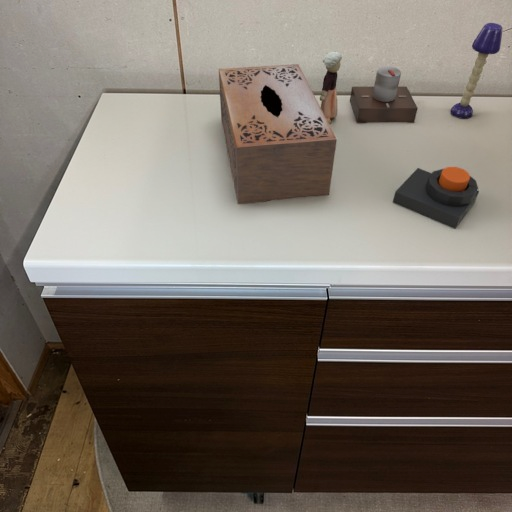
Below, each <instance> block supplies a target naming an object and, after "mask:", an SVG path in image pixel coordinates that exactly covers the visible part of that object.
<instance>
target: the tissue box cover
mask: <svg viewBox="0 0 512 512" xmlns="http://www.w3.org/2000/svg"><path fill="white" fill-rule="evenodd" d="M218 84H219V85H218V86H219V103H220V119H221V120H220V121H221V125H222V130H223V137H224V140H225V141H224V142H225V145H226V151H227V156H228V162H229V164H230V165H229V166H230V171H231V176H232V181H233V186H234V189H235V190H234V191H235V196H236V201H237V204H238V205H240V204H250V203H260V202H261V203H263V202H271V201H280V200H289V199H290V200H291V199H300V198H311V197H321V196H330V191H331V184H332V176H333V170H334V169H333V168H334V163H335V155H336V148H337V141H338V139H337V137H336V135H335V133H334V131H333V129H332V127H331V124H330V125H329V123H328V121H327V119H326V117H325V115H324V113H323V111H322V110H321V105H320V104H319V102H318V100H317V97H316V95H315V94H314V92H313V90H312V88H311V86H310V84H309V82H308V80H307V78H306V77H305V75H304V72H303V71H302V68H301V66H300V64H298V63H295V64H280V65H277V64H276V65H263V66H262V65H261V66H245V67H232V68H231V67H230V68H218Z"/></svg>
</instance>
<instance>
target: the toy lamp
mask: <svg viewBox="0 0 512 512" xmlns="http://www.w3.org/2000/svg"><path fill="white" fill-rule="evenodd" d="M502 36H503V26H502V25H501V24H499V23H496V22H487V23H485V24H484V25H483V27H482V28H481V30H480V31H479V33H478V34H477V36H476V37H475V39H474V41H473V42H472V44H471V48H472V50H473V51H474V52H477V57H476V59H475V62H474V66H473V67H472V69H471V74H470V75H469V77H468V82H467V83H466V85H465V89H464V90H463V93H462V97H461V98H460V102H457V103H455V104H453V106H451V108H450V110H449V111H450V114H451V115H452V116H453V117H456V118H458V119H465V120H466V119H470V118H472V117H473V115H474V109H473V107H472V105H470V103H471V98H472V97H473V95H474V91H475V90H476V89H477V83H479V81H480V78H481V74H482V72H483V69H484V66H485V65H486V62H487V58H488V57H489V55H496V54H497V53H499V52H500V49H501V45H502Z"/></svg>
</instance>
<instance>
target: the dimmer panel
mask: <svg viewBox="0 0 512 512" xmlns="http://www.w3.org/2000/svg"><path fill="white" fill-rule="evenodd" d="M373 90H374V86H351V91H350V97H349V102H350V105H351V108H352V111H353V114H354V115H353V116H354V118H355V120H356V123H357V124H358V123H359V124H361V123H363V124H366V123H407V124H409V123H411V124H412V123H415V120H416V117H417V114H418V110H419V107H418V105H417V104H416V102H415V100H414V98H413V96H412V94H411V91H409V89H408V87H407V86H398V89H397V94H396V98H395V100H393V101H390V102H382V101H378V100H376V99H374V98H373Z"/></svg>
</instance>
